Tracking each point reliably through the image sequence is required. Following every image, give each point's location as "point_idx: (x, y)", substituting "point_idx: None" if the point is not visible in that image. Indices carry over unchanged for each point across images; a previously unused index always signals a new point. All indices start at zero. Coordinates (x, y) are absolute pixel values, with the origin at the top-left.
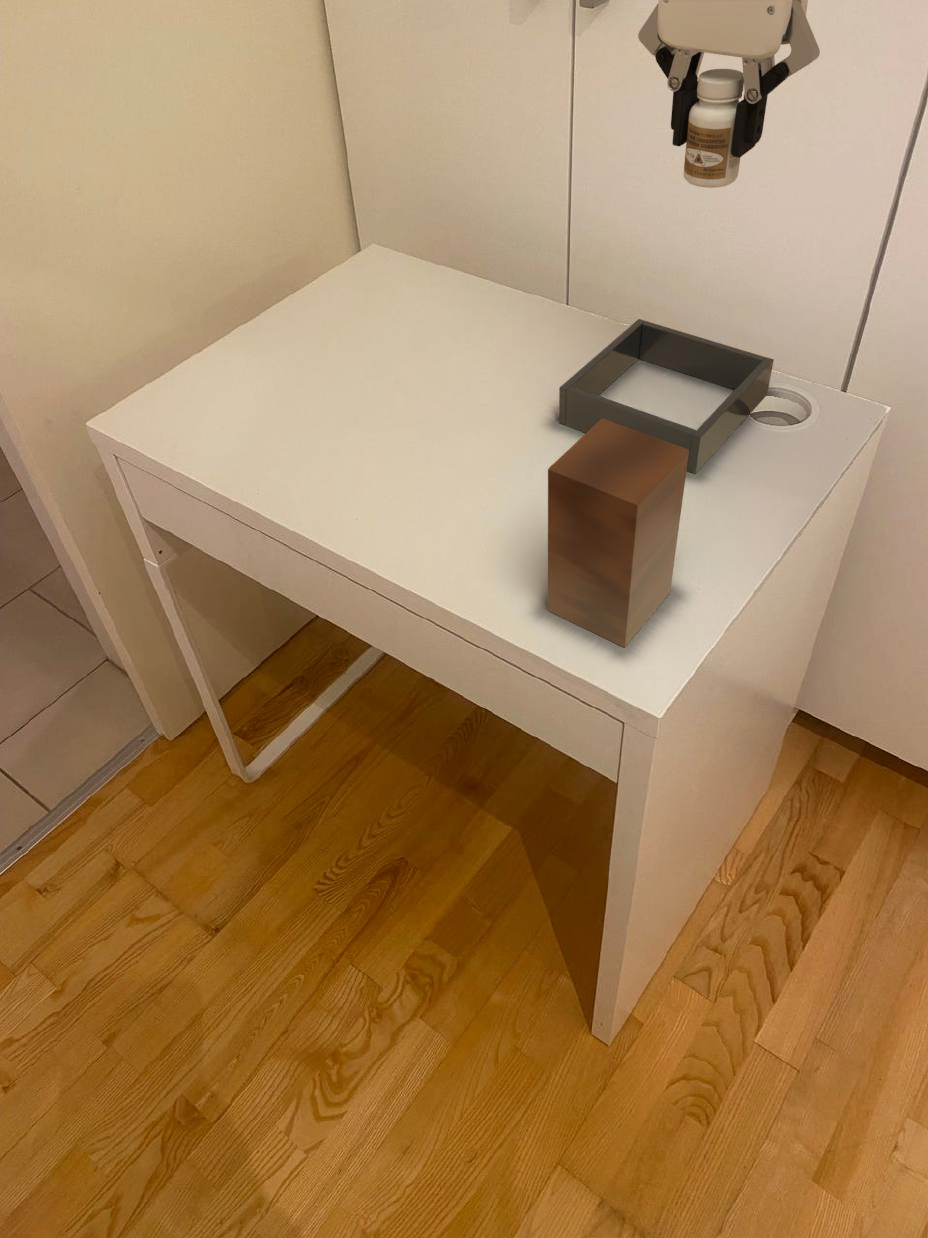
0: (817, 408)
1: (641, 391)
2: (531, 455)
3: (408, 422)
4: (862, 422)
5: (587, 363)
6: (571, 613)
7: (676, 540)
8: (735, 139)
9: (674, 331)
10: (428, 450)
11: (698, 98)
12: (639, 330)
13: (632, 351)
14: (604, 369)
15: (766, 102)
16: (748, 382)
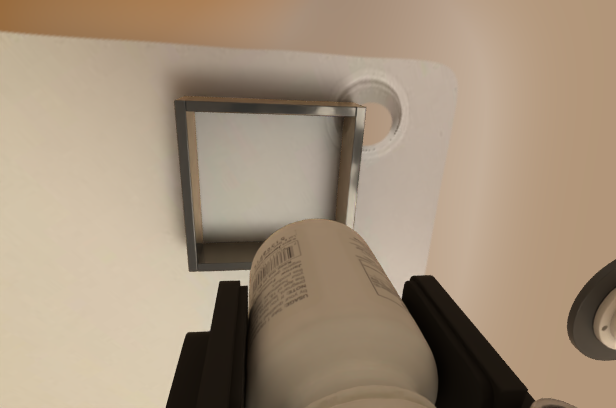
0: (405, 98)
1: (234, 163)
2: (205, 296)
3: (72, 320)
4: (449, 99)
5: (185, 221)
6: None
7: None
8: None
9: (233, 107)
10: (124, 336)
11: (243, 389)
12: (187, 115)
13: (192, 126)
14: (195, 192)
15: (529, 394)
16: (357, 165)
